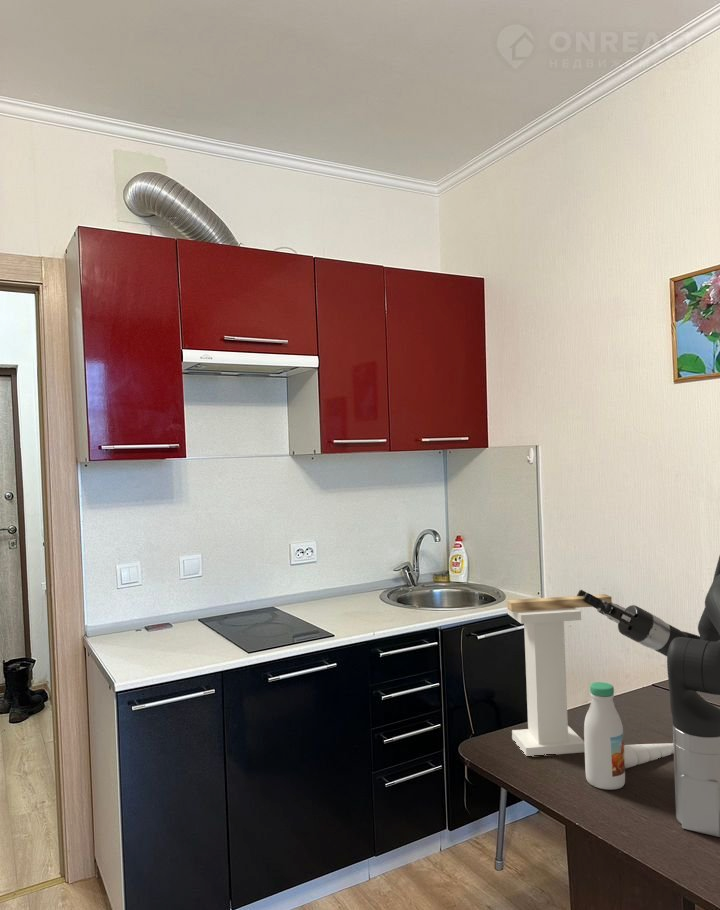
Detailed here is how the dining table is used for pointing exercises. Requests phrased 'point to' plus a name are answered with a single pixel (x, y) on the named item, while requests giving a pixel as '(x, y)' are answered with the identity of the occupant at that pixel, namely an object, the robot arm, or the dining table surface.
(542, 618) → the stand
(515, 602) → the slat
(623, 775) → the milk bottle
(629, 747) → the unicorn horn
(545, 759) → the dining table surface
